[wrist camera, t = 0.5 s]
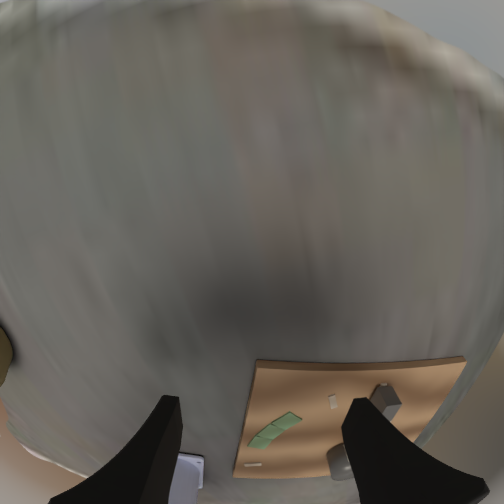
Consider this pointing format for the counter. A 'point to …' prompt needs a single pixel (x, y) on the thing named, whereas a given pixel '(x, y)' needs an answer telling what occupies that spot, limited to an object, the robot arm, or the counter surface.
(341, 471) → the peg
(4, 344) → the squeeze bottle
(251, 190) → the counter surface
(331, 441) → the board
